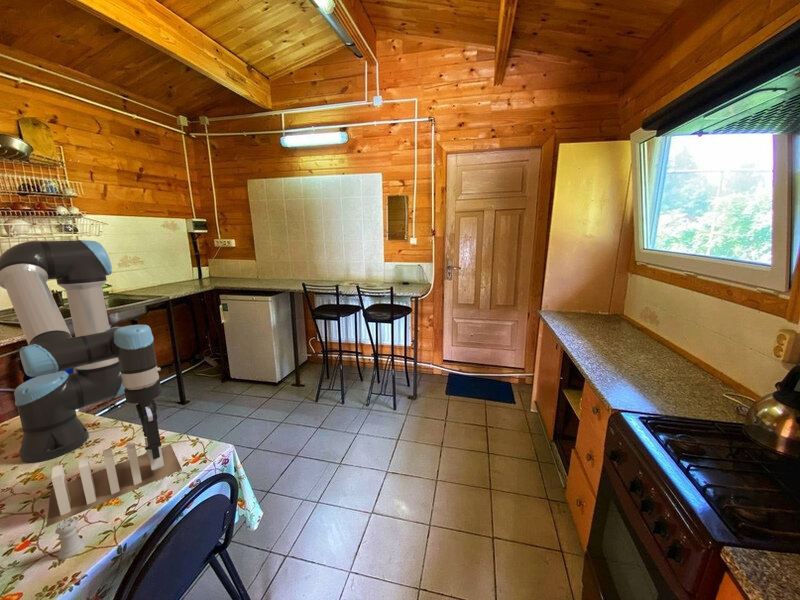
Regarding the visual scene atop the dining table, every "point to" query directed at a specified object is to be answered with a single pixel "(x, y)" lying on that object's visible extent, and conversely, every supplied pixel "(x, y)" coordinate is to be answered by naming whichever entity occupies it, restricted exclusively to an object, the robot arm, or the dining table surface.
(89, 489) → the domino
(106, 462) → the domino
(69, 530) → the rook chess piece
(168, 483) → the dining table surface
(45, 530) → the dining table surface
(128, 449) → the domino
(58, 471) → the domino
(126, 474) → the walnut board
